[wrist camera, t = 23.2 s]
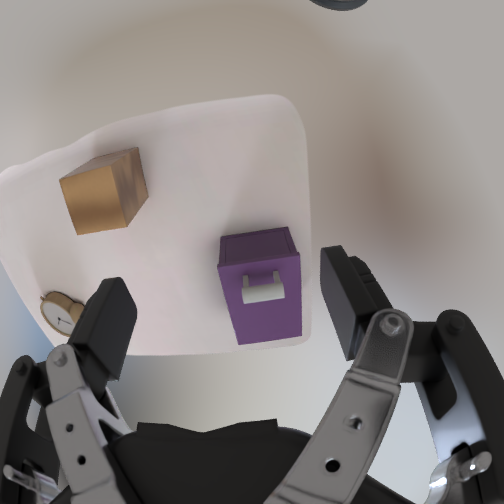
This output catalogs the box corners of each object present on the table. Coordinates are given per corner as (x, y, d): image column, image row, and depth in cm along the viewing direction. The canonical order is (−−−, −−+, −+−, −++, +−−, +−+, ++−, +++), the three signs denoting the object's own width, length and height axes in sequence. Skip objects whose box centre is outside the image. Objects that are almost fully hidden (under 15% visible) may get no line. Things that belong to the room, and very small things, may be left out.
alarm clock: (34, 294, 44) (84, 320, 45) (46, 281, 49) (96, 304, 49) (45, 327, 50) (92, 352, 51) (55, 314, 54) (102, 337, 55)
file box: (220, 236, 44) (218, 267, 37) (287, 226, 43) (298, 255, 36) (237, 307, 52) (238, 341, 45) (292, 299, 52) (301, 332, 45)
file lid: (217, 263, 36) (215, 291, 31) (298, 251, 36) (308, 277, 31) (238, 341, 45) (239, 367, 41) (301, 332, 45) (307, 357, 40)
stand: (92, 158, 35) (58, 179, 26) (138, 147, 35) (110, 164, 26) (104, 205, 39) (77, 235, 31) (148, 197, 39) (127, 227, 31)
